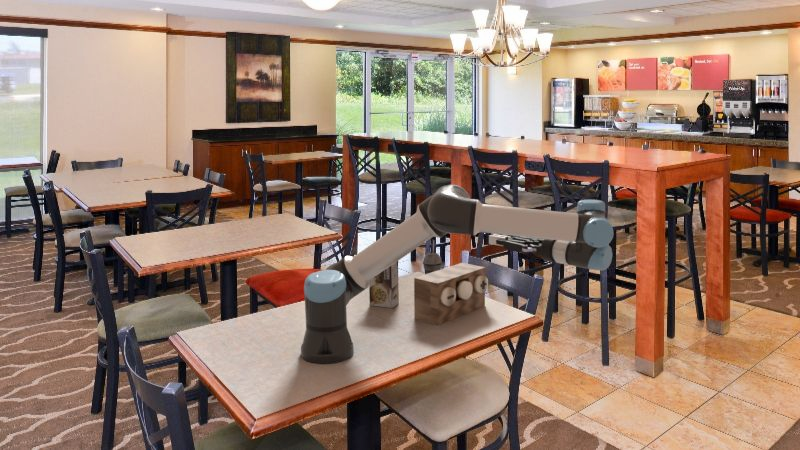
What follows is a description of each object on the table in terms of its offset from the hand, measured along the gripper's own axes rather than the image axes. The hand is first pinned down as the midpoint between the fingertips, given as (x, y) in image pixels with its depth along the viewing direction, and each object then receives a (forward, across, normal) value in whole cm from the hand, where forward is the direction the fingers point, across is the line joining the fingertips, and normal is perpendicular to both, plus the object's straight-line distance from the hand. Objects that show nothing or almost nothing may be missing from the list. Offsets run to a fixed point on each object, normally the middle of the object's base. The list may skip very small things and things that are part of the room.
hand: (491, 238), depth 204 cm
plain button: (+10, 0, -22) cm, 24 cm away
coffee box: (+39, -9, -28) cm, 49 cm away
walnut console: (+15, 0, -28) cm, 32 cm away
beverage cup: (+35, +13, -28) cm, 47 cm away
